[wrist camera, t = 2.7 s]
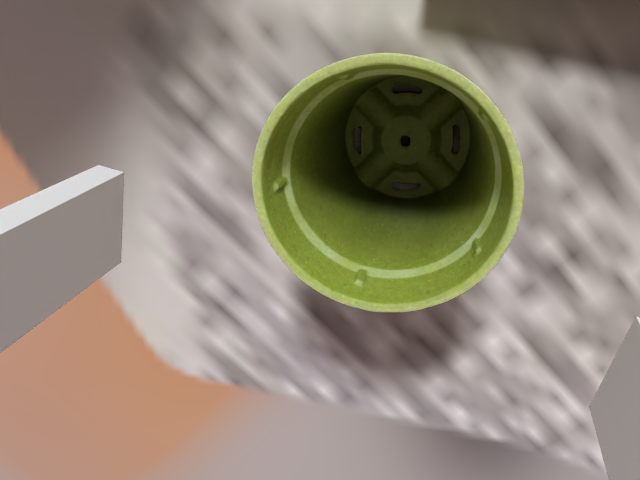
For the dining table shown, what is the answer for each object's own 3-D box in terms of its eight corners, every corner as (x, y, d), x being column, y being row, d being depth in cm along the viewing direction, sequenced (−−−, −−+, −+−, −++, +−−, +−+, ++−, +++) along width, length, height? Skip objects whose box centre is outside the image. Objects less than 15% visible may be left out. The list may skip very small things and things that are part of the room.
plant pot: (303, 40, 27) (233, 63, 19) (514, 25, 24) (533, 43, 16) (320, 225, 30) (268, 306, 23) (505, 227, 28) (516, 319, 20)
